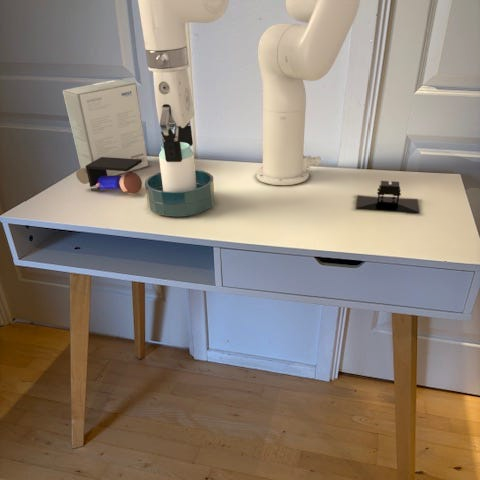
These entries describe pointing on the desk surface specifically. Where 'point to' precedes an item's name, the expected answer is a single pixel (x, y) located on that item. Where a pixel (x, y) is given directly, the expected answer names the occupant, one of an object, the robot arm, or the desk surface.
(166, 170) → the can
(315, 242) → the desk surface
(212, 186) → the bowl
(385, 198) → the build plate
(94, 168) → the figurine character
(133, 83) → the hard drive box
